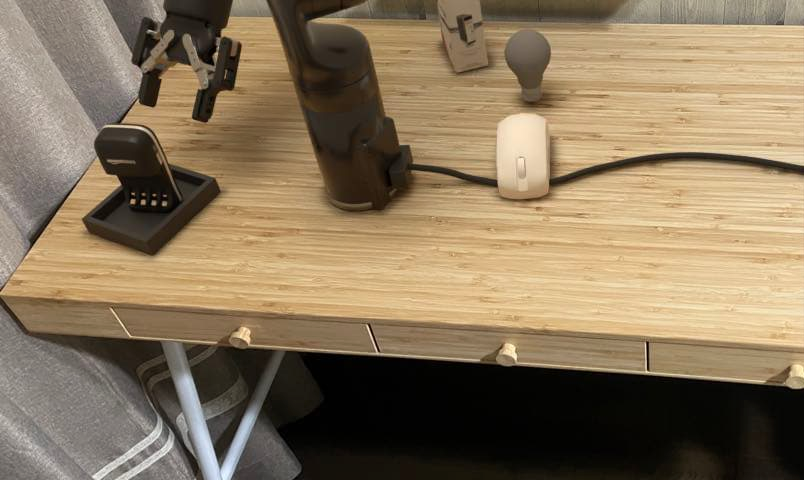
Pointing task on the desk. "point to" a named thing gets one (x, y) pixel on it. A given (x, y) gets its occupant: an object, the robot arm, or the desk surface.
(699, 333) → the desk surface
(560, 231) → the desk surface
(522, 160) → the computer mouse
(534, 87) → the light bulb
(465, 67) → the ink box
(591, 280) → the desk surface
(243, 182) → the desk surface
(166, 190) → the battery charger
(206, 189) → the dock pad
